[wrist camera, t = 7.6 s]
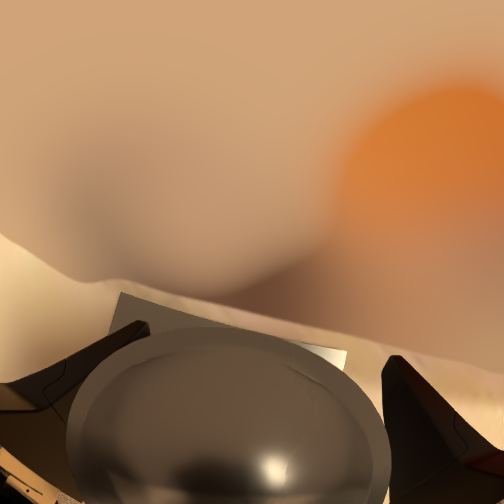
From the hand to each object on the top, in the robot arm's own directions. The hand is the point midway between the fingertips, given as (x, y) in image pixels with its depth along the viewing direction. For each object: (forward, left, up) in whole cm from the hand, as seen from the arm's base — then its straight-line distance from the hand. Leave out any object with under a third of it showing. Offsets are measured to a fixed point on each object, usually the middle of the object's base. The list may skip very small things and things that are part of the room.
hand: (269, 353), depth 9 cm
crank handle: (-6, -5, -6) cm, 10 cm away
